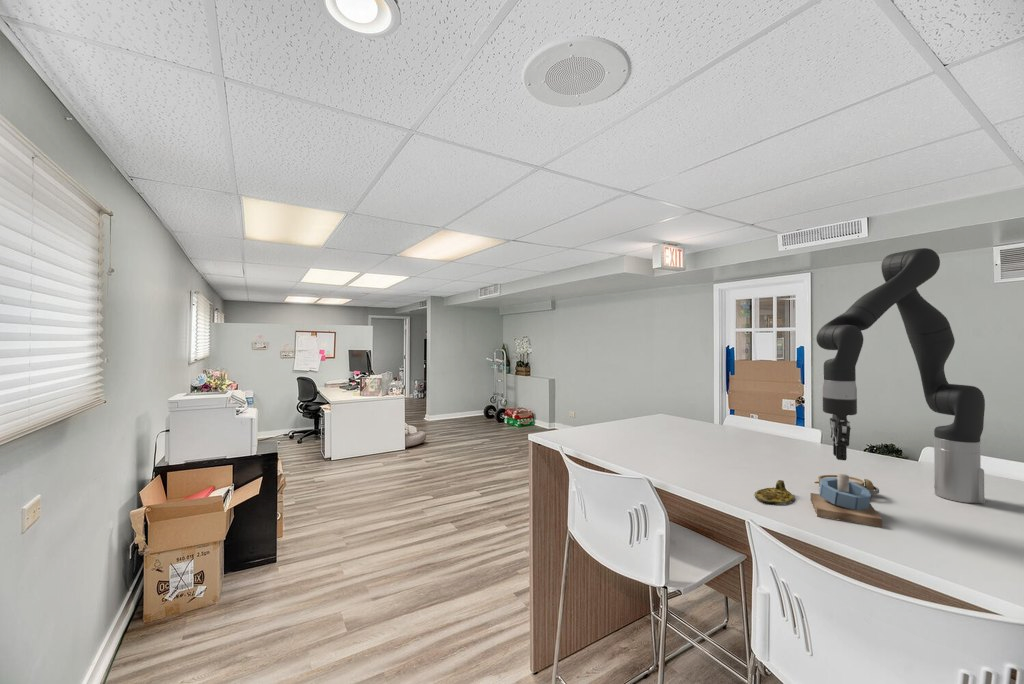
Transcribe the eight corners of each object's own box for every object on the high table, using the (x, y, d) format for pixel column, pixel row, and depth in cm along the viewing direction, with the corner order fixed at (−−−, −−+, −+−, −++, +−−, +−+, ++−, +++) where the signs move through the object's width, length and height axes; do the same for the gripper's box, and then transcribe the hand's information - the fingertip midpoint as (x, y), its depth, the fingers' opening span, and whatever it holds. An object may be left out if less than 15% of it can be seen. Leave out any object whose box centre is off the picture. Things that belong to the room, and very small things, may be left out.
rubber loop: (864, 496, 114) (866, 484, 114) (871, 514, 106) (873, 501, 105) (818, 485, 120) (819, 474, 119) (821, 501, 111) (822, 489, 111)
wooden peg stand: (868, 508, 113) (868, 472, 113) (881, 527, 102) (881, 486, 102) (810, 499, 120) (810, 465, 120) (817, 516, 108) (816, 478, 108)
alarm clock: (828, 473, 135) (885, 478, 122) (831, 488, 135) (889, 495, 121) (809, 478, 130) (866, 484, 117) (812, 494, 129) (870, 502, 116)
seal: (783, 514, 113) (799, 499, 123) (785, 497, 113) (801, 484, 123) (746, 500, 120) (765, 487, 130) (748, 485, 120) (766, 473, 130)
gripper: (862, 400, 107) (863, 466, 107) (850, 394, 119) (851, 453, 119) (826, 398, 110) (827, 462, 110) (818, 392, 123) (819, 450, 123)
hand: (839, 457), depth 115 cm, fingers open, 3 cm apart
